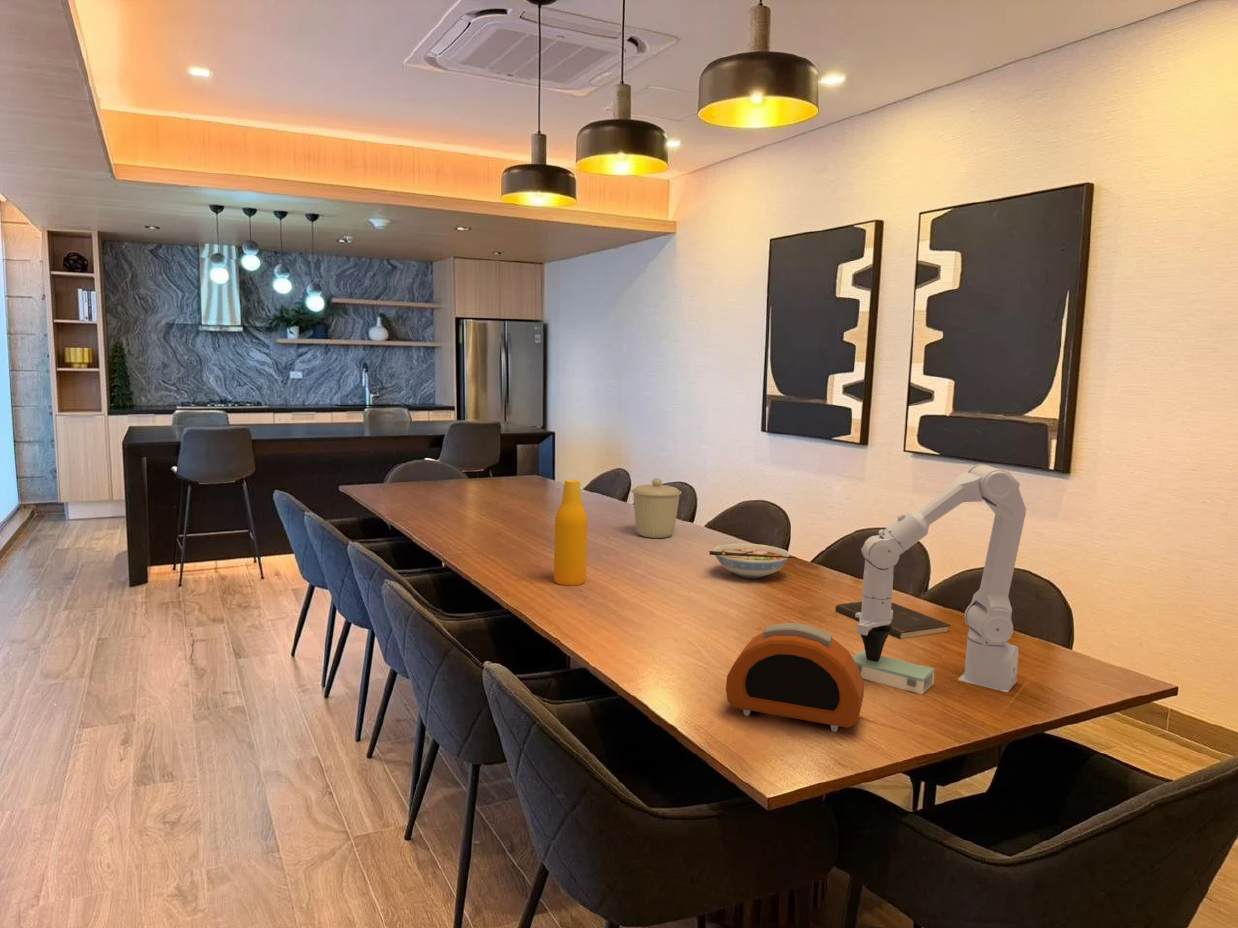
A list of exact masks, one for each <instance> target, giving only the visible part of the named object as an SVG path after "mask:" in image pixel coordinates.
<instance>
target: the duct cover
mask: <svg viewBox="0 0 1238 928" xmlns="http://www.w3.org/2000/svg"><path fill="white" fill-rule="evenodd" d="M852 658H853V659H854V661H855V663H856V664H857V665H859V666H862V667H866V668H870V669H874V670H878V671H882V672H886V673H890V674H894V675H898V676H901V677H905V678H909V679H913V680H917V681H921V682H923V681H924V680H926V679H927V678H928V677H929V676H930V675H931V674H932V673H933V672H934V673H935V668H933V667H929V666H925V665H920V664H917V663H914V662H908V661H905V660H901V659H897V658H893V657H888V656H884V655H881V656H880V659H879V661H877V662H875V661H871V660H867V658H866V653H865V650H861V651H859V652H858V653H857V654H854V655H853V656H852Z"/></svg>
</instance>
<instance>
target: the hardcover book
mask: <svg viewBox="0 0 1238 928" xmlns="http://www.w3.org/2000/svg"><path fill="white" fill-rule="evenodd" d="M861 609H862V601H855V602H849V603H848V602H847V603H841V604H836V606H835V613H838V614H840V615H843V616H845V617H847V618H850V619H852V620H853V621H856V622H859V621H860V618H857V617H855V614H856V613H858V612H861ZM891 610H893V619H892V620H891V623H890V624H888V625H887V626H891V627H892V631H891V632H890V634H889V635H888V636H891V637H894V638H896V639H898V640H902V639H907V638H908V639H909V638H914V637H915V638H916V637H920V636H921V637H922V636H927V635H934V634H941V633H948V632H949V627H951V624H949V623H947V622H945V621H941V620H939V619H936V618H934V617H931V616H928V615H926V614H923V613H921V612H918V611H916V610H913V609H910V608H908V607H905V606H902V605H900V604H898V603H895V602H892V604H891Z"/></svg>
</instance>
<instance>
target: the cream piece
mask: <svg viewBox="0 0 1238 928" xmlns="http://www.w3.org/2000/svg"><path fill="white" fill-rule="evenodd" d="M857 666H858V669H859V671H860V674H861V676H862V679H863V680H867V681H871V682H875V683H876V684H877V683H878V684H882V685H885V686H889V687H893V688H897V689H901V690H904V691H907V692H912V693H917V694H919V695H923V694H924V693H926V691H928V689H930V688H931V687H932V686H933V685H934V681H935V671H934V672H933V673H932V674H931V675H930V676H929V677H928V678H927V679H926V680H924V681H923V682H921V681H917V680H913V679H909V678H905V677H901V676H898V675H894V674H890V673H886V672H882V671H878V670H874V669H870V668H866V667H862V666H859V665H857Z"/></svg>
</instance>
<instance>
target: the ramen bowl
mask: <svg viewBox="0 0 1238 928" xmlns="http://www.w3.org/2000/svg"><path fill="white" fill-rule="evenodd" d="M708 553H709V556H715V557H716V559H717V561H718V562H719V564H720V565H721V566H722V567H723V568H725V570H727V571H728V572H732V573H733V574H736V575H737V576H739V577H740V578H744V579H760V578H762V577H766V576H768V575H771V574H774V573H776V572H778V571H780V569H781V568H782V567H784V565H785V564H786V562H787V560H788V559H797V557H795V556H790V554H791V553H790V552H788V551H787V550H786V549H783V548H780V547H776V546H773V545H772V546H771V545H765V544H757V543H743V542H742V543H739V542H737V543H736V542H735V543H724V544H719V545H717V546H715V547H713V548H712V550H710V551H708Z"/></svg>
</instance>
